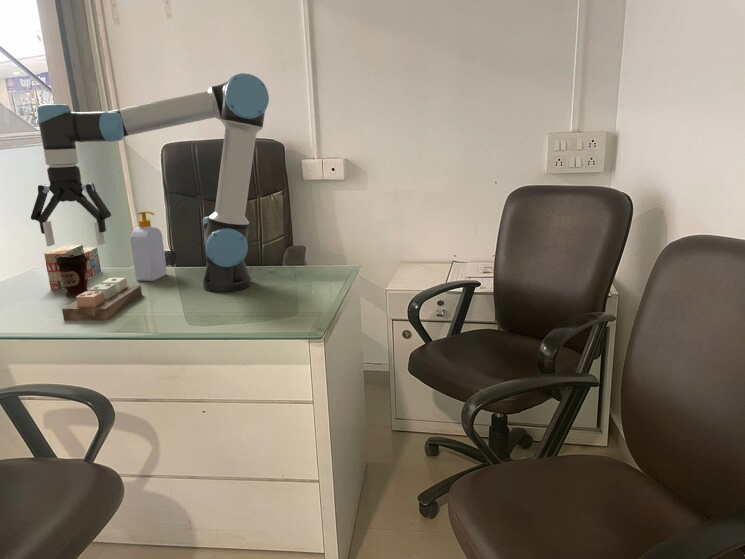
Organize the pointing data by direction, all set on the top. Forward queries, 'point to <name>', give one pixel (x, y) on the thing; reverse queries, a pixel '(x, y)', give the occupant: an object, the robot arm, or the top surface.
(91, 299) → the tile three
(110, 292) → the tile two
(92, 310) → the brown flat block
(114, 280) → the tile one
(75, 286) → the coffee cup
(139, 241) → the soap bottle
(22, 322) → the top surface
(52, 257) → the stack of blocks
